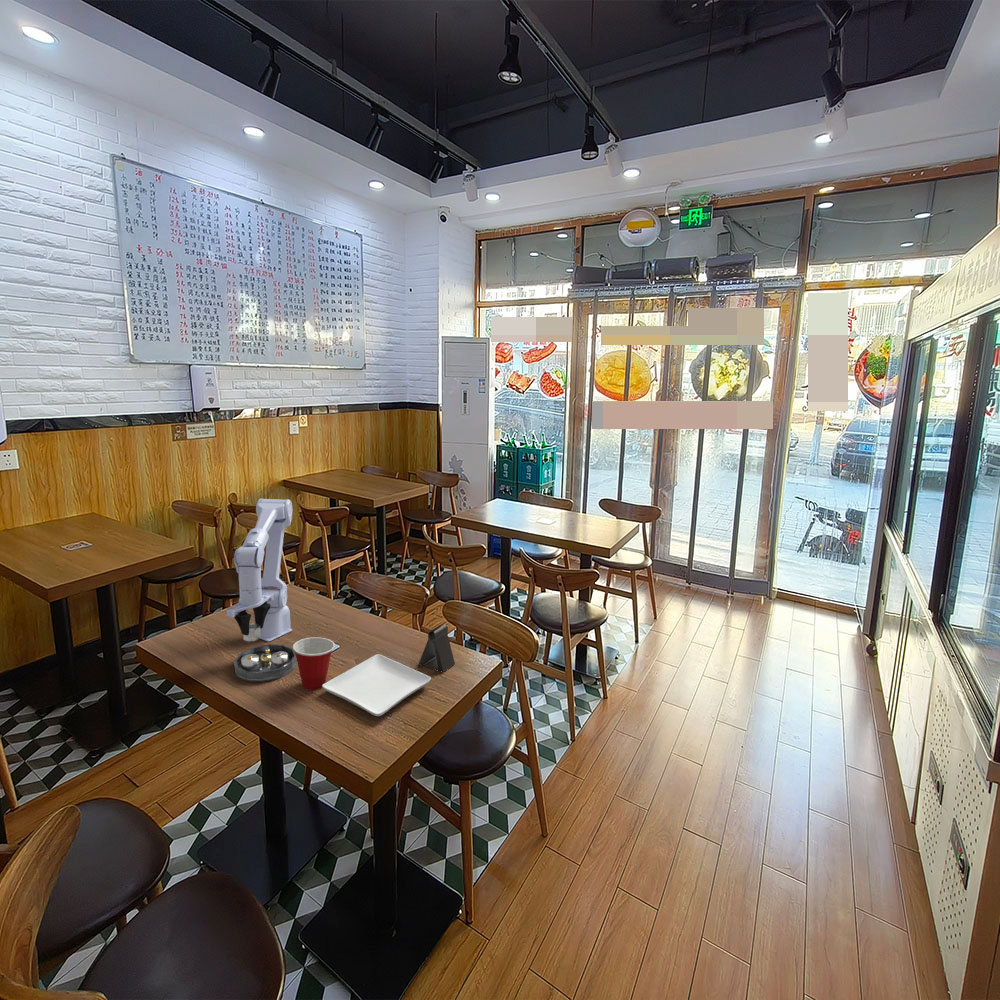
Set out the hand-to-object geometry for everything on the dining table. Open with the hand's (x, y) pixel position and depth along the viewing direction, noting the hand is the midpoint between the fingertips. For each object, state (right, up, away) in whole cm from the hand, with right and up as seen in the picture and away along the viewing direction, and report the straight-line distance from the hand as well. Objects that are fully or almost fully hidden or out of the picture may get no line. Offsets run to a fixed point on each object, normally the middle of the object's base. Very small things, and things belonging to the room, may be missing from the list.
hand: (252, 630), depth 156 cm
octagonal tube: (0, -2, +1) cm, 2 cm away
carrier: (+5, -10, -2) cm, 11 cm away
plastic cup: (+21, -13, -9) cm, 26 cm away
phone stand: (+53, -11, +5) cm, 55 cm away
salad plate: (+39, -14, -10) cm, 43 cm away
